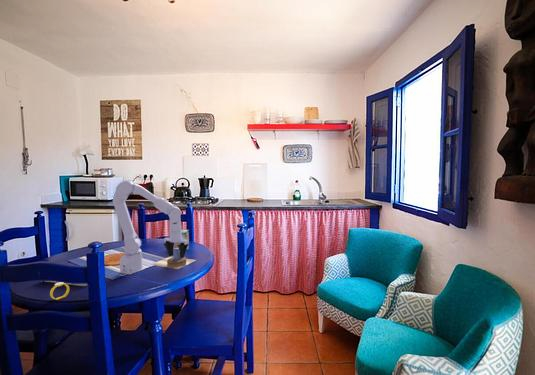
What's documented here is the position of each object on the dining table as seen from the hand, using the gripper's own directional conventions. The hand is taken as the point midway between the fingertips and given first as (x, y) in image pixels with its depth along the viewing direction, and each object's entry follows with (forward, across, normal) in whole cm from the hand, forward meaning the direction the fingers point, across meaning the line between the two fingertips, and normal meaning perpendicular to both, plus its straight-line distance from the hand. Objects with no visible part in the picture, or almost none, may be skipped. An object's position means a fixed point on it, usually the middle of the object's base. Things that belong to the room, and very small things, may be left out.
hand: (176, 256), depth 138 cm
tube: (+5, +30, +36) cm, 47 cm away
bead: (+4, 0, 0) cm, 4 cm away
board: (+4, +4, -2) cm, 6 cm away
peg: (+4, 0, 0) cm, 4 cm away
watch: (+5, +16, +45) cm, 48 cm away
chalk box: (+5, +18, -22) cm, 30 cm away
